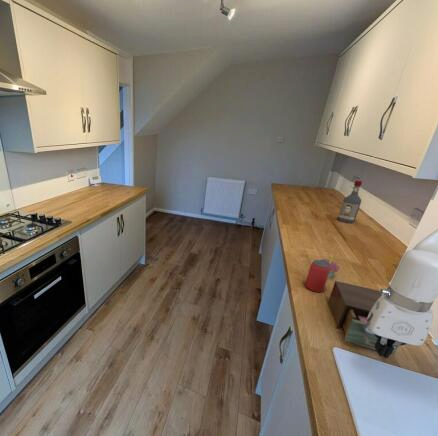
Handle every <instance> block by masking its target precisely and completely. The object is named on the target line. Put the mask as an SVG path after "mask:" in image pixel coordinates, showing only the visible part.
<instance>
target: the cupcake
mask: <svg viewBox="0 0 438 436" xmlns="http://www.w3.org/2000/svg"><path fill="white" fill-rule="evenodd" d="M334 257H335V253H333V254H332V255H331V257H330V259H326V258H325V259H321V260H322V261H325V262H327V263H328V264H329V265H330V272H329V275H328V278H327V279H329V278H332V277H333V275H334V274H336V273H339V271H340V267H339V265H338V264H337V263H335V262H334V261H333V259H334Z"/></svg>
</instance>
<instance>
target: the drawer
mask: <svg viewBox="0 0 438 436" xmlns="http://www.w3.org/2000/svg"><path fill="white" fill-rule="evenodd" d="M368 315H369V313H367V312H364V311H360V310H356V309H352V308H348V309H347V311H346V314H345V316H344V319H343V322H342V325H343V328H344V333H345V335H344V337H343V338H344V341H345V342H347V343H352V344H354V345H358V346H361V347H364V348H368V349H370V350H374V351H376V350H375V344H376V342H377V340H378V339H377V337H376V336H375V335H373V334H371V333H368V332H366V331H365V329H364V326H365V325H366V324H367V323H366V322H362V321H358V320H356V319H357V317H358V316H362V317H366V318H367V317H368ZM397 349H398V348H394V350H393V352H392V354H391V355H390V356H395V354H396V351H397Z"/></svg>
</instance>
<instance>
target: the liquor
mask: <svg viewBox="0 0 438 436" xmlns="http://www.w3.org/2000/svg"><path fill="white" fill-rule="evenodd" d="M362 183H363V181H362V180H355V182H354V184H353V189H352V192H351V193H350V194H349V195H348V196H346V197H344V199H343V200H342V203H341V207H340V210H339V213H338V216H337V221H338V222H341V221H342V222H341V223H345V222H346V223H345V224H353V223H354V222H355V221H356V218H357V215H358V212H359V210H360V207H361V204H362V198H361V197H360V195H359V191H360V188H361V186H362Z"/></svg>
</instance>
